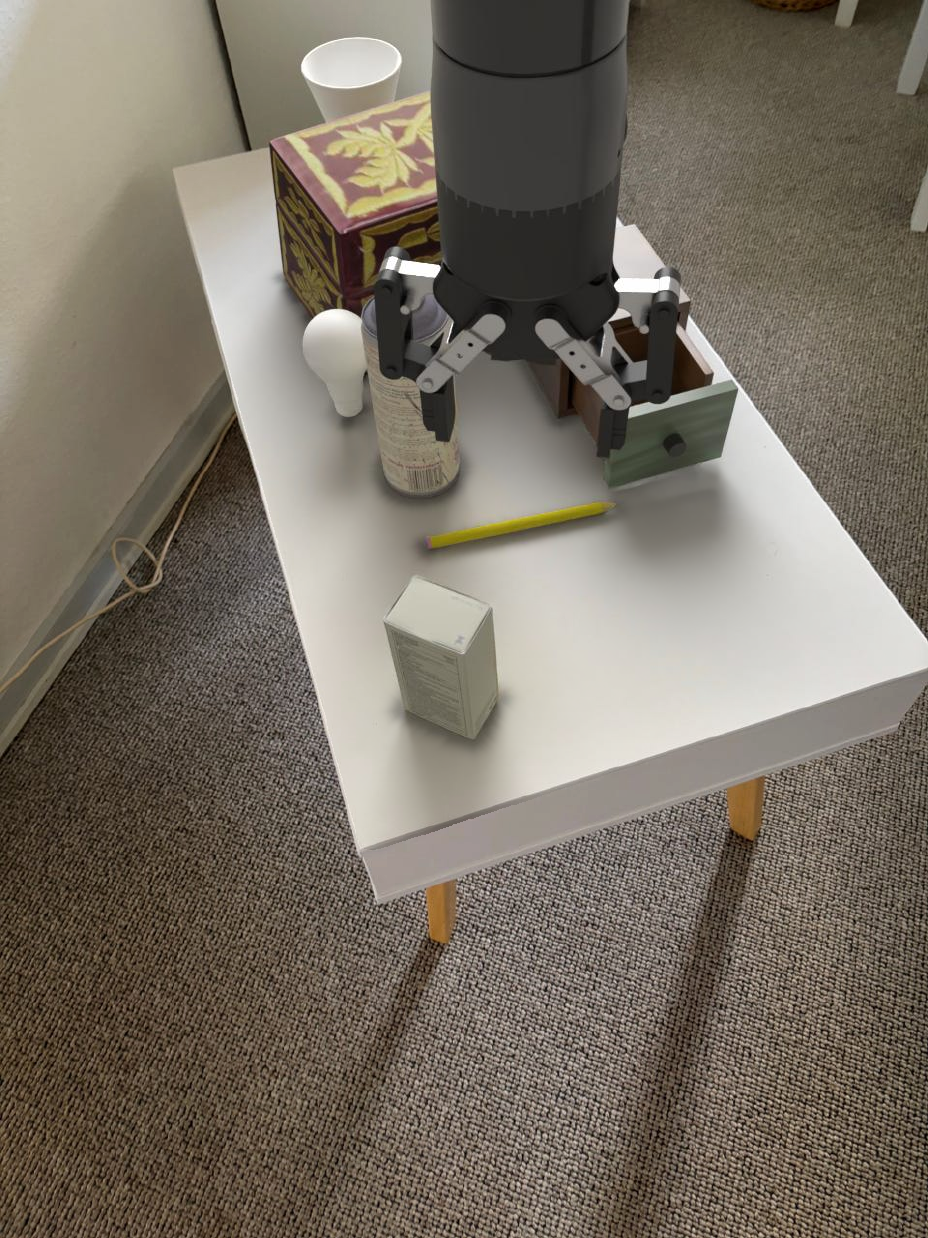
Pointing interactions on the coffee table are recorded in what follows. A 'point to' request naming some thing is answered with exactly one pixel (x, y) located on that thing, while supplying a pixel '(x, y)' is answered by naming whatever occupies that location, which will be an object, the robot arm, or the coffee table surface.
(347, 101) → the cup
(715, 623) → the coffee table surface
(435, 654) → the cosmetic box
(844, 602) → the coffee table surface
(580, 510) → the pencil
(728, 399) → the drawer
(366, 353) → the aerosol can
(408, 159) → the decorative box
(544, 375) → the cabinet
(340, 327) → the lightbulb
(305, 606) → the coffee table surface
